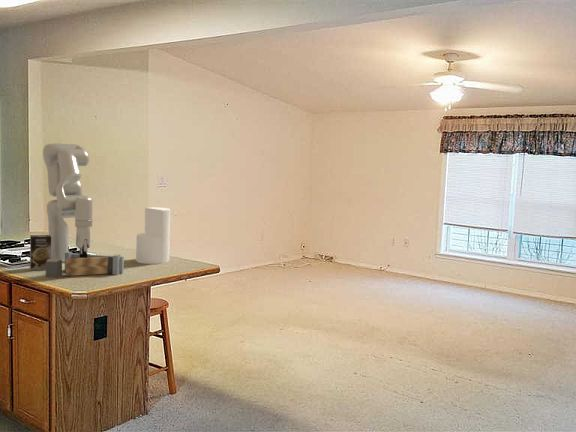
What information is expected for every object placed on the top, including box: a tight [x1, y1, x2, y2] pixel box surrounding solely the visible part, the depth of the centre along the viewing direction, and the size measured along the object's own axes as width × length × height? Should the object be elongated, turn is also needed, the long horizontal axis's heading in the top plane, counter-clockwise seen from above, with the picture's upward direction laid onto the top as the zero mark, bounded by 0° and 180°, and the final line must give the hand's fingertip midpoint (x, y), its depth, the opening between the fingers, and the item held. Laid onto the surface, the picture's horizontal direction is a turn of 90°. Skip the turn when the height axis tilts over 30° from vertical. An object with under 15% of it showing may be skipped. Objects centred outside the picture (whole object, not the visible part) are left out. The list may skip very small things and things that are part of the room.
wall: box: [64, 251, 125, 276], centre depth 262 cm, size 28×4×9 cm, turn 85°
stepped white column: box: [135, 206, 171, 265], centre depth 295 cm, size 17×17×28 cm
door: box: [65, 255, 113, 276], centre depth 257 cm, size 20×2×8 cm, turn 115°
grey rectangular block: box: [45, 258, 63, 278], centre depth 251 cm, size 5×5×8 cm
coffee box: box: [29, 234, 51, 271], centre depth 264 cm, size 9×6×16 cm
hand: (83, 262), depth 260 cm, fingers closed
